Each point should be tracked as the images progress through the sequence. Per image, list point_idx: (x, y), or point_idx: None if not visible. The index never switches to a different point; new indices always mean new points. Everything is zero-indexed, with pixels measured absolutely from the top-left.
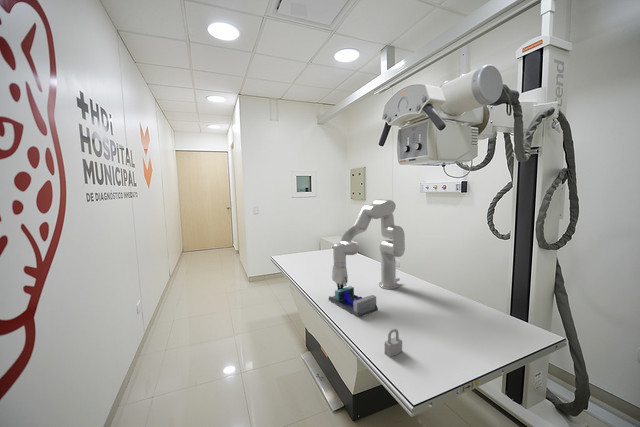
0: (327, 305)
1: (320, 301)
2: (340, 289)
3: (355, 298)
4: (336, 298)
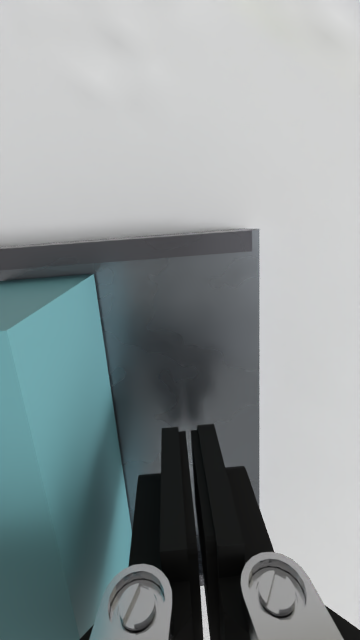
0: (81, 90)
1: (296, 68)
2: (20, 529)
3: None
4: (38, 285)
